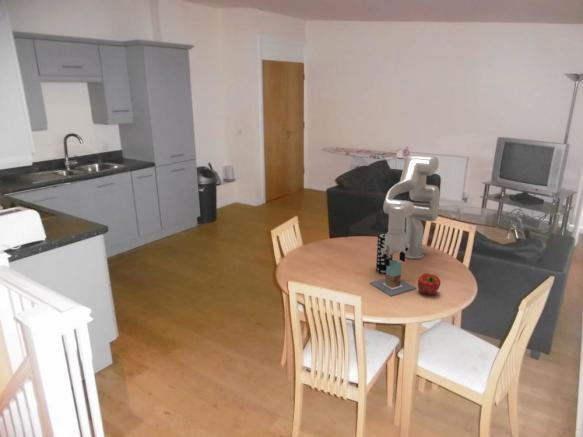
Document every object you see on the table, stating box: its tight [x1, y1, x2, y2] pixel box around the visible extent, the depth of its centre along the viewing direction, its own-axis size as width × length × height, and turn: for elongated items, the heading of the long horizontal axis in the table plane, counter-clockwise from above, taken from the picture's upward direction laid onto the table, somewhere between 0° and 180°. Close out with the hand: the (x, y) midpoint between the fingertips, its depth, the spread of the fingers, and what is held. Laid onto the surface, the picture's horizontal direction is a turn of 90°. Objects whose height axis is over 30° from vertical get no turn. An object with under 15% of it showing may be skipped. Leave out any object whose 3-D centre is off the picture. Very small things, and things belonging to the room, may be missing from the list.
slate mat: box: [369, 277, 417, 297], centre depth 210 cm, size 16×16×1 cm
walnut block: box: [385, 273, 402, 288], centre depth 209 cm, size 5×5×6 cm
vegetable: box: [417, 272, 442, 296], centre depth 201 cm, size 11×10×10 cm
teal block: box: [386, 259, 402, 277], centre depth 208 cm, size 5×5×6 cm
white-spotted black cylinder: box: [375, 232, 394, 275], centre depth 225 cm, size 8×8×20 cm
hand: (394, 263), depth 208 cm, fingers open, 9 cm apart
